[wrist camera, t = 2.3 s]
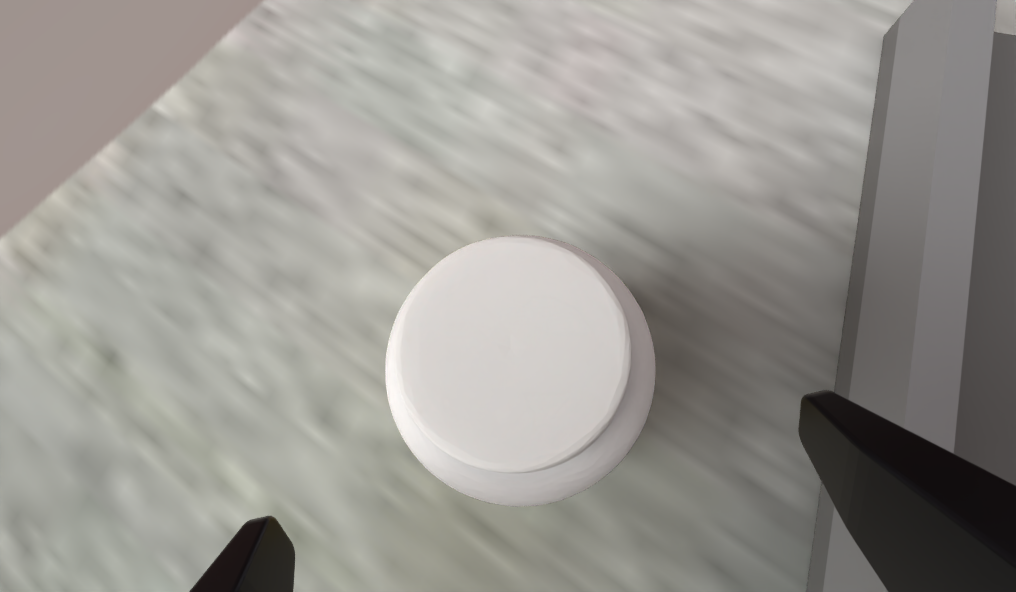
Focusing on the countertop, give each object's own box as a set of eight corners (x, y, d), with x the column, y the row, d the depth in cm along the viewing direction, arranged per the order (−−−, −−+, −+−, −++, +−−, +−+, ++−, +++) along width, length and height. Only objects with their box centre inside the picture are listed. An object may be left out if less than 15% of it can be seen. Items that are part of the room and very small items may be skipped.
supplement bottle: (445, 476, 19) (330, 527, 9) (449, 309, 20) (351, 193, 10) (618, 477, 19) (698, 531, 9) (611, 307, 20) (672, 183, 10)
